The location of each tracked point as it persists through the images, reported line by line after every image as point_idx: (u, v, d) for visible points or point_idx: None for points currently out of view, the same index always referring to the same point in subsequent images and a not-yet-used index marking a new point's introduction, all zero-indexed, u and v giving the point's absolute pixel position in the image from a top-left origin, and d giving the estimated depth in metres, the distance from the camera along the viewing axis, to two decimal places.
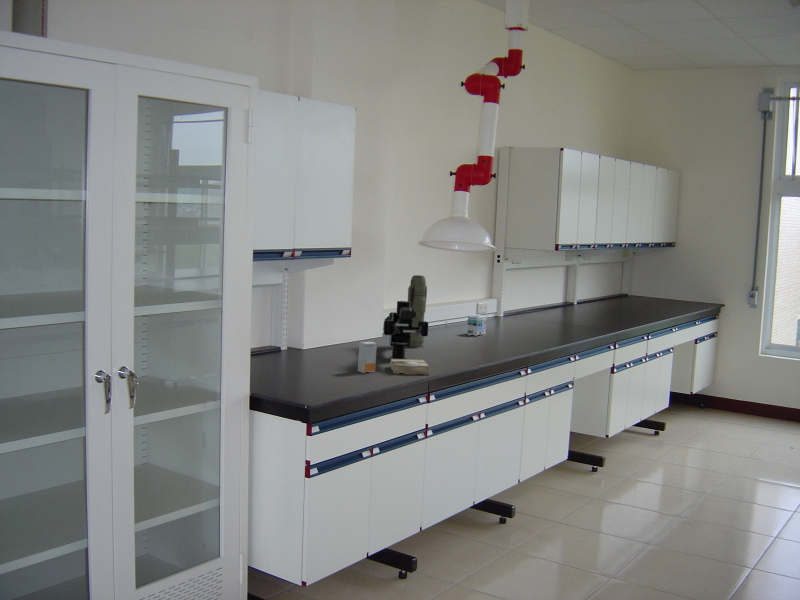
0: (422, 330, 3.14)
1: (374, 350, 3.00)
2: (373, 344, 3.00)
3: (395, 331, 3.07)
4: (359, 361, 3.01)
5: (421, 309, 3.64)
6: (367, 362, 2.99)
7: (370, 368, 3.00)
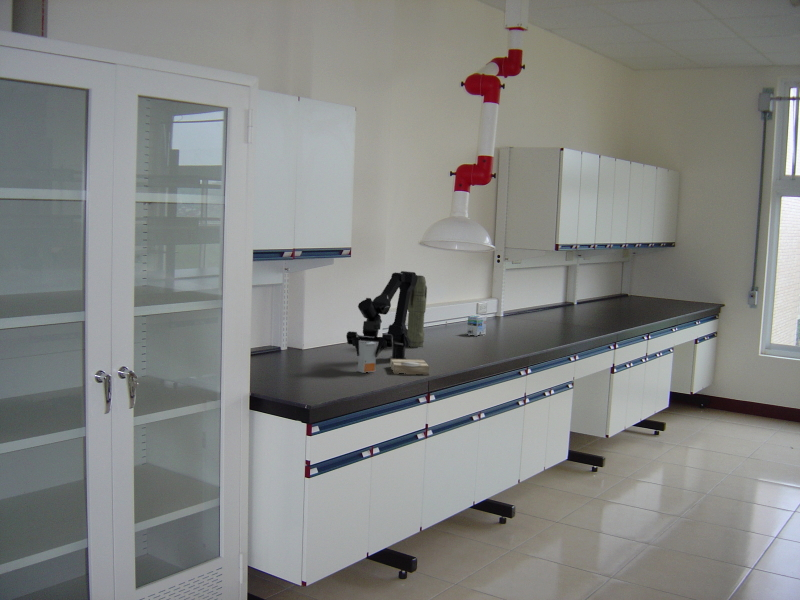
0: (383, 344, 3.04)
1: (374, 350, 3.00)
2: (373, 344, 3.00)
3: None
4: (359, 361, 3.01)
5: (421, 309, 3.64)
6: (367, 362, 2.99)
7: (370, 368, 3.00)
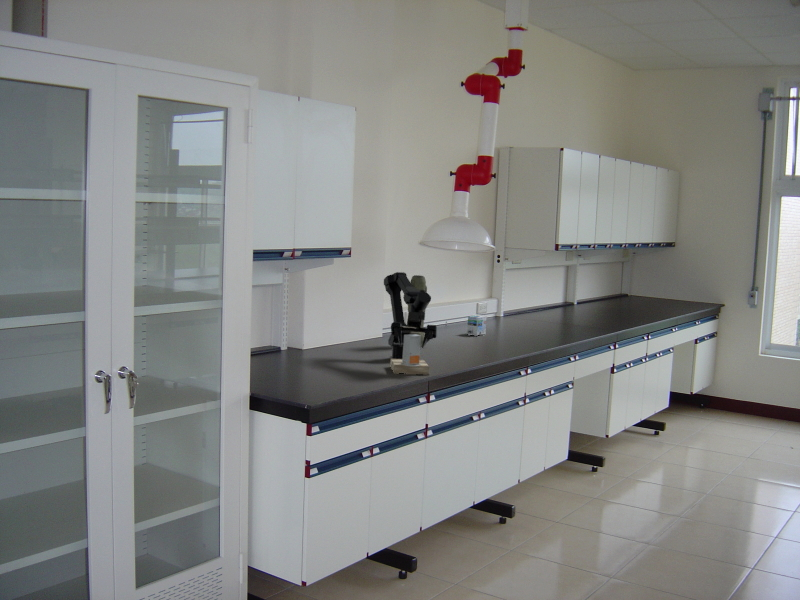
0: (429, 335, 3.06)
1: (419, 342, 3.03)
2: (418, 336, 3.02)
3: (399, 343, 3.04)
4: (404, 353, 3.03)
5: None
6: (412, 354, 3.02)
7: (414, 360, 3.03)
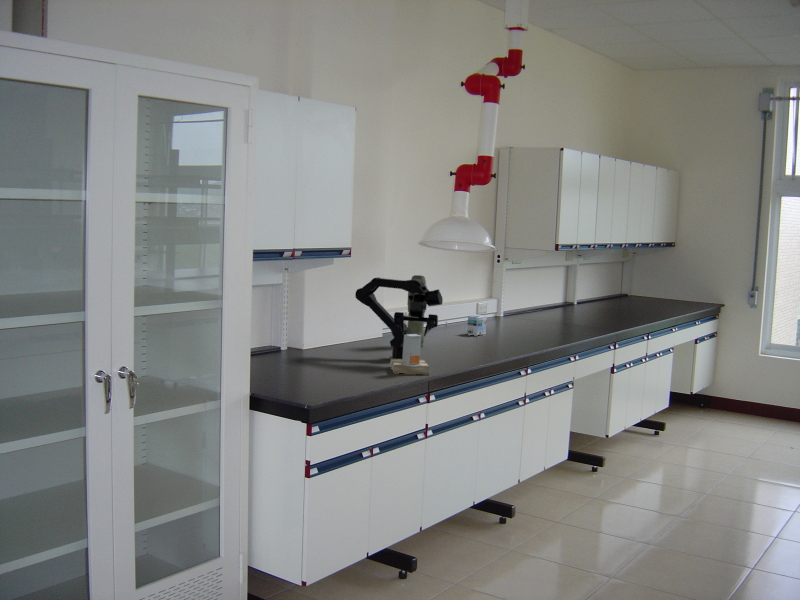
0: (431, 324, 3.20)
1: (419, 342, 3.03)
2: (418, 336, 3.02)
3: (401, 331, 3.18)
4: (404, 353, 3.03)
5: None
6: (412, 354, 3.02)
7: (414, 360, 3.03)
